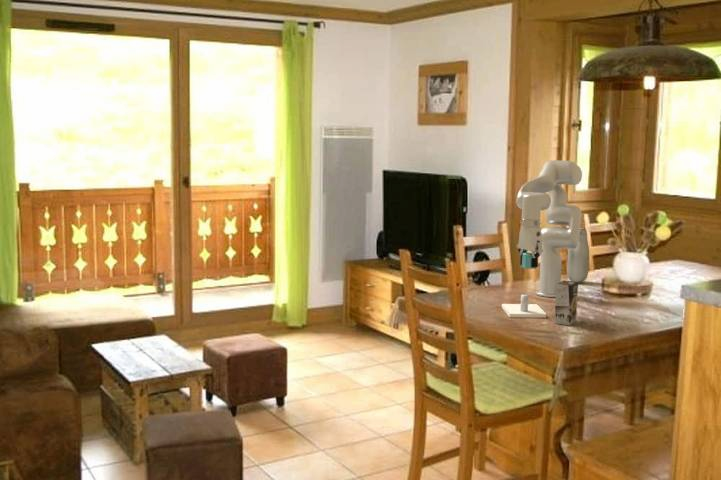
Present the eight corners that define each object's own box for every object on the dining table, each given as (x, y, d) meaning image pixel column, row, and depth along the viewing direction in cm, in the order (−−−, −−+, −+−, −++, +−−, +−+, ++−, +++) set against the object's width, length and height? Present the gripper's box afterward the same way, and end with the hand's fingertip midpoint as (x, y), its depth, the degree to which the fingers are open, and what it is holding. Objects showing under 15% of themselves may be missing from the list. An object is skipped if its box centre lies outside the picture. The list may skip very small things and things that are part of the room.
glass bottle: (570, 279, 399) (573, 225, 395) (590, 282, 393) (593, 227, 389) (563, 282, 391) (566, 227, 387) (583, 285, 386) (586, 229, 382)
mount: (536, 307, 336) (537, 289, 335) (546, 317, 318) (547, 298, 317) (501, 307, 336) (502, 289, 335) (509, 317, 318) (510, 298, 317)
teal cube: (539, 268, 328) (540, 254, 327) (528, 269, 325) (529, 255, 324) (529, 265, 333) (530, 252, 332) (518, 267, 330) (519, 253, 329)
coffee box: (569, 325, 306) (571, 285, 303) (553, 323, 309) (555, 283, 307) (576, 320, 313) (578, 281, 311) (561, 318, 317) (563, 279, 314)
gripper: (552, 225, 321) (549, 268, 323) (523, 220, 336) (521, 262, 338) (538, 226, 317) (536, 269, 319) (510, 221, 332) (508, 263, 334)
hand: (528, 265), depth 329 cm, fingers closed on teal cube, 6 cm apart
